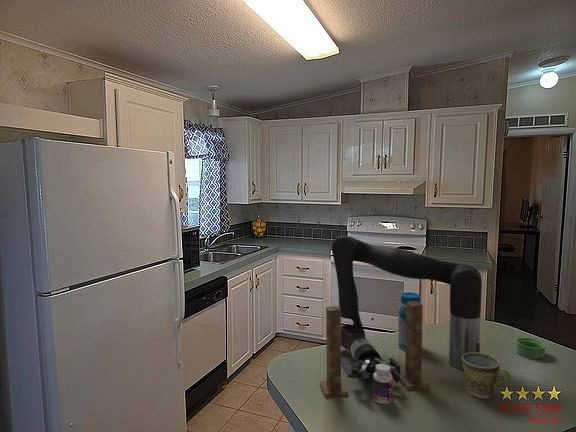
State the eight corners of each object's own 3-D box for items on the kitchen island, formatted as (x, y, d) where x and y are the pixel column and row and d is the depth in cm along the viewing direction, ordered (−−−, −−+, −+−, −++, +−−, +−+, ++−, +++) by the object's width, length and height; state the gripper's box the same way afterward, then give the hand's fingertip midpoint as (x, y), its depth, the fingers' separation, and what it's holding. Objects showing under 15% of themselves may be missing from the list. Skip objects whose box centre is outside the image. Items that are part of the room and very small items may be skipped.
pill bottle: (392, 406, 108) (393, 372, 107) (373, 404, 109) (373, 370, 108) (391, 395, 113) (392, 363, 112) (372, 393, 114) (373, 361, 113)
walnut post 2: (418, 376, 123) (420, 299, 121) (429, 388, 116) (431, 306, 114) (397, 378, 122) (398, 300, 120) (407, 390, 115) (408, 307, 113)
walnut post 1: (342, 383, 120) (341, 303, 118) (348, 395, 113) (348, 311, 111) (319, 385, 119) (319, 305, 117) (325, 397, 112) (324, 313, 110)
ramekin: (539, 363, 131) (540, 350, 130) (511, 353, 138) (511, 342, 137) (549, 355, 137) (550, 343, 136) (521, 346, 144) (521, 335, 143)
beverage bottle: (398, 351, 141) (399, 297, 139) (397, 341, 149) (397, 290, 147) (423, 353, 139) (424, 298, 137) (420, 343, 147) (421, 292, 145)
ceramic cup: (454, 391, 115) (454, 358, 114) (471, 380, 121) (472, 349, 120) (499, 411, 104) (501, 376, 103) (516, 398, 110) (517, 364, 109)
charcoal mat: (371, 356, 137) (371, 354, 137) (384, 373, 125) (384, 371, 125) (338, 359, 136) (338, 357, 136) (348, 376, 124) (348, 374, 124)
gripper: (343, 345, 124) (359, 369, 108) (386, 342, 126) (407, 365, 110) (343, 367, 125) (358, 395, 109) (385, 364, 127) (407, 391, 111)
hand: (383, 380), depth 110 cm, fingers open, 8 cm apart
